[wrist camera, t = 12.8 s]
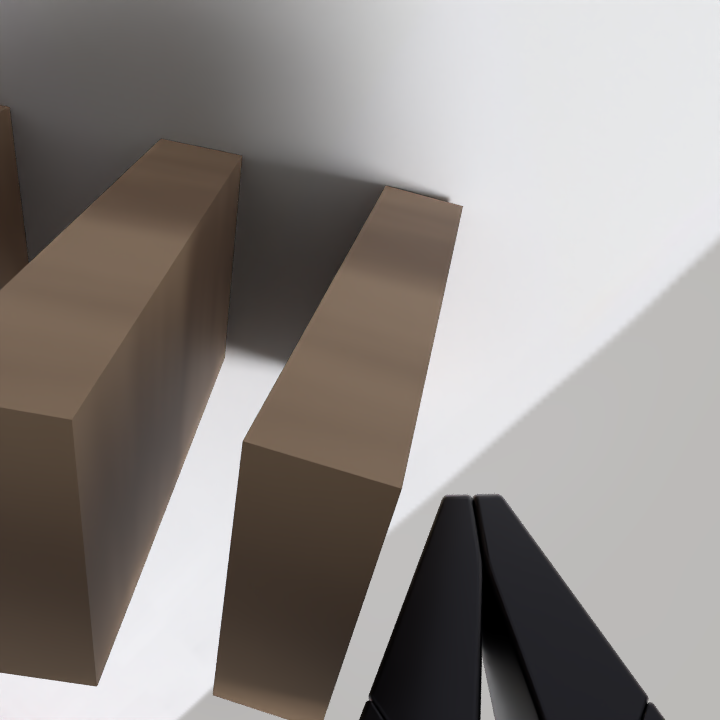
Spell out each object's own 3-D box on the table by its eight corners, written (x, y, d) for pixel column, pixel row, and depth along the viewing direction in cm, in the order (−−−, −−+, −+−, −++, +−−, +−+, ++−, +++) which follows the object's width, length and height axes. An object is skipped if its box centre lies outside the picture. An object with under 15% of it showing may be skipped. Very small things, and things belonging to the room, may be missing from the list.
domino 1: (160, 138, 12) (-106, 389, 6) (242, 155, 12) (71, 419, 6) (158, 345, 15) (-21, 669, 9) (224, 357, 15) (97, 686, 9)
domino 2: (385, 185, 13) (242, 441, 6) (462, 206, 13) (401, 487, 6) (341, 379, 15) (212, 695, 9) (404, 397, 15) (320, 730, 9)
